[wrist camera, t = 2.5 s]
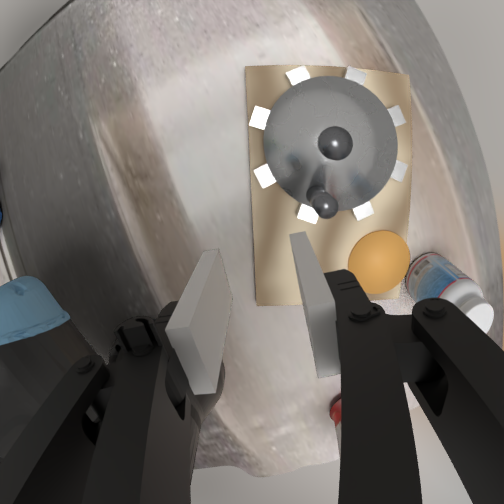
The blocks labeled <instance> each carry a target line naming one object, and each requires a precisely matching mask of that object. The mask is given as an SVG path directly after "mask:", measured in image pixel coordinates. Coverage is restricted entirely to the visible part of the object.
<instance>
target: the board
mask: <svg viewBox="0 0 504 504" xmlns="http://www.w3.org/2000/svg"><path fill="white" fill-rule="evenodd" d="M301 66H303V65H269V66H245V72H246V92H247V112H248V133H249V154H250V174H251V195H252V217H253V238H254V259H255V281H256V303H257V306H276V305H302V304H303V303H302V299H301V294H300V290H299V285H298V279H297V274H296V269H295V263H294V258H293V252H292V247H291V242H290V237H289V234H293V233H298V232H303V231H305V232H306V234H307V236H308V239H309V241H310V243H311V246H312V248H313V250H314V253H315V255H316V257H317V260H318V262H319V264H320V267H321V269H322V271H323V273H327V272H332V271H337V270H341V269H346V270H348V260H349V256H350V253H351V251H352V249H353V247H354V246H355V244H356V243H357V242H358V241H359V240H360V239H361V238H362V237H364V236H365V235H367V234H369V233H371V232H374V231H378V230H387V231H391V232H394V233H396V234H397V235H399V236H400V237H401V238H402V239H403V240H404V241H405V242H406V243H407V234H408V223H409V211H410V197H411V176H412V116H411V95H410V81H409V75H405V74H399V73H392V72H385V71H377V70H368V69H358V68H356V69H358V70H360V71H363V72H365V73H367V75H366V78H365V82H364V85H363V86H364V87H366V88H367V89H369V90H370V91H371V92H372V93H374V94H375V95H376V96H377V97H378V98H379V99H380V101H381V102H382V103H383V104H384V106H385V107H386V108H390V107H392V106H396V105H399V107H400V109H401V112H402V114H403V116H404V119H405V121H406V123H404V124H402V125H399V126H397V127H395V129H396V133H397V141H398V153H397V160H398V161H400V162H403V163H405V164H407V165H408V166H407V169H406V172H405V175H404V178H403V180H402V182H399V181H397V180H394V179H392V178H390V179H389V180H388V182H387V184H386V185H385V186H384V188H383V189H382V190H381V191H380V192H379V193H378V194H377V195H376V196H375V197H374V198H372V199H371V200H370V203H371V206H372V208H373V211H374V214H372V215H370V216H368V217H366V218H364V219H362V220H360V221H357V220H356V219H355V218H354V216H353V213H352V211H351V209H349V210H345V211H338V212H337V214H336V215H335V216H334V217H332V218H330V219H323V218H321V217H319V216H318V219H317V221H316V224H314V223H311V222H308V221H305V220H302V219H299V218H297V216H296V213H297V210H298V207H299V205H300V202H298V201H296V200H295V199H294V198H292V197H291V196H290V195H288V194H287V193H286V192H285V191H284V190H283V189H282V188H281V187H280V185H279V184H278V183H277V182H275V183H273V184H271V185H269V186H267V187H265V188H262V186H261V184H260V182H259V180H258V179H257V177H256V175H255V173H254V171H253V170H254V169H256V168H258V167H260V166H262V165H264V164H266V163H267V161H266V157H265V152H264V142H263V137H264V130H262V129H259V128H256V127H253V126H250V125H249V124H250V121H251V118H252V115H253V111H254V108H255V106H257V107H261V108H264V109H267V110H270V111H271V109H272V107H273V106H274V104H275V103H276V101H277V100H278V99H279V97H280V96H281V95H282V94H283V93H284V92H286V91H287V90H288V89H289V88H291V86H290V84H289V82H288V80H287V79H286V77H285V73H286V72H289V71H291V70H293V69H296V68H298V67H301ZM304 66H305V68H306V70H307V71H308V73H309V75H310V77H311V78H314V77H319V76H337V77H342V78H343V75H344V71H345V68H346V67H332V66H308V65H304ZM400 287H401V282H400V283H399V284H398V285H397V286H396V287H394V288H393V289H391V290H389V291H387V292H384V293H380V294H369V293H366V292H365V293H366V295H367V297H368V298H369V300H370V301H372V300H385V299H397V298H399V293H400Z"/></svg>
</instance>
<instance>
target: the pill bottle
mask: <svg viewBox="0 0 504 504" xmlns="http://www.w3.org/2000/svg"><path fill="white" fill-rule="evenodd" d="M406 287H407V290H408V293H409V295H410V296H411V297H412V299H413V300H414V301H415V302H416V303H417V302H419V301H421V300H423V299H427V298H433V297H434V298H435V297H437V298H442V299H446V300H448V301H450V302H452V303H453V304H454V305H455V306H457V307H458V308H459V309H460V310H461V311H462V312H463V313H464V314H465V315H466V316H468V317H469V318H470V319H471V320H472V321H473V322H474V323H475V324H476V325H477V326H478V327H479V328H480V329H481V330H482V331H484V332H485V333H487V332H488V330H489V328H490V327H491V324H492V321H493V317H494V312H493V308H492V306H491V305H490V304H489V303H488V302H487V301H486V300H485V299H484V298H483V293H482V290H481V288H480V287H479V285H478V284H477V283H475V282H474V281H473V280H472V279H471V278H469V277H468V276H467V275H466V274H464V273H463V272H462V271H461V270H459V269H458V268H457V267H455V266H454V265H453V264H452V263H450V262H449V261H448V260H446V259H445V258H444V257H442V256H441V255H439V254H436V253H428V254H425V255H422V256H421V257H419V258H418V259H417V260H416V261H415V262H414V263H413V264H412V265H411V267H410V268H409V270H408V273H407V277H406Z"/></svg>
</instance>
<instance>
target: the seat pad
mask: <svg viewBox="0 0 504 504" xmlns="http://www.w3.org/2000/svg"><path fill="white" fill-rule="evenodd" d="M409 264H410V253H409V249H408V246H407V244H406V242H405V241H404V240H403V239H402V238H401V237H400V236H399V235H397V234H396V233H394V232H391V231H387V230H378V231H374V232H371V233H369V234H367V235H365V236H364V237H362V238H361V239H360V240H359V241H358V242H357V243H356V244H355V246H354V247H353V249H352V251H351V253H350V256H349V260H348V271H350V272H352V273H353V274H354V275H355V277H356V279H357V281H358V282H359V283H360V285H361V287H362V288H363V290H364V292H366V293H369V294H380V293H384V292H387V291H389V290H391V289H393V288H394V287H396V286H397V285H398V284H399V283H400V282H401V281H402V279H403V278H404V277H405V275H406V273H407V271H408V268H409Z"/></svg>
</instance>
